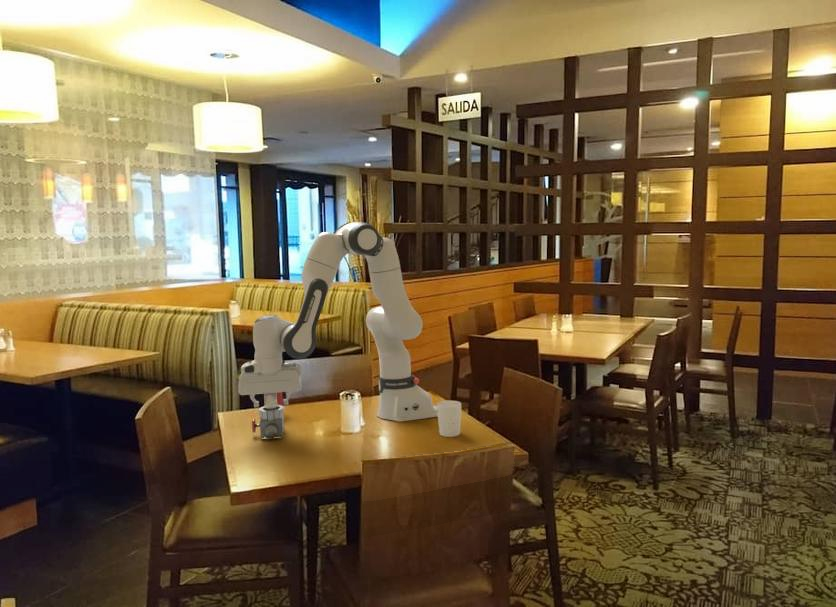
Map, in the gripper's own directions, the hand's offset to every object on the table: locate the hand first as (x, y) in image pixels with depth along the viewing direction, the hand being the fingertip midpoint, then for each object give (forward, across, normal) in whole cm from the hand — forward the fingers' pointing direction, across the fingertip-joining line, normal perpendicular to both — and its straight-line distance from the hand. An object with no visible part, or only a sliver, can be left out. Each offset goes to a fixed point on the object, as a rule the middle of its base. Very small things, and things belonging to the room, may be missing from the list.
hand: (271, 405), depth 210 cm
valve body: (+10, +1, 0) cm, 10 cm away
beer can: (+10, +1, -24) cm, 26 cm away
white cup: (+10, -57, +14) cm, 59 cm away
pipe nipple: (+4, 0, 0) cm, 4 cm away
